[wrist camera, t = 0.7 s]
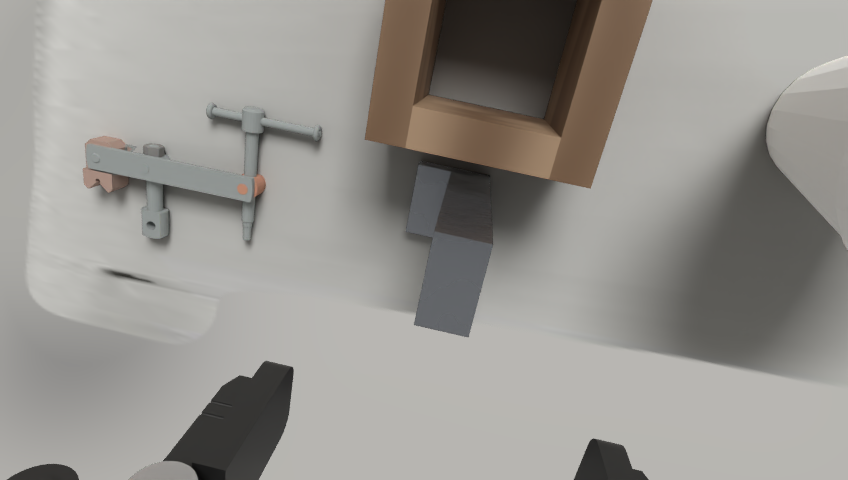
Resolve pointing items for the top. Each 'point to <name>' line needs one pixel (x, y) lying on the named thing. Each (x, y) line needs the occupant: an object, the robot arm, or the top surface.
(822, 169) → the cup
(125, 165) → the clamp
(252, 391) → the robot arm
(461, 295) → the grey upright bar
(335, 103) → the top surface
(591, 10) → the well block
